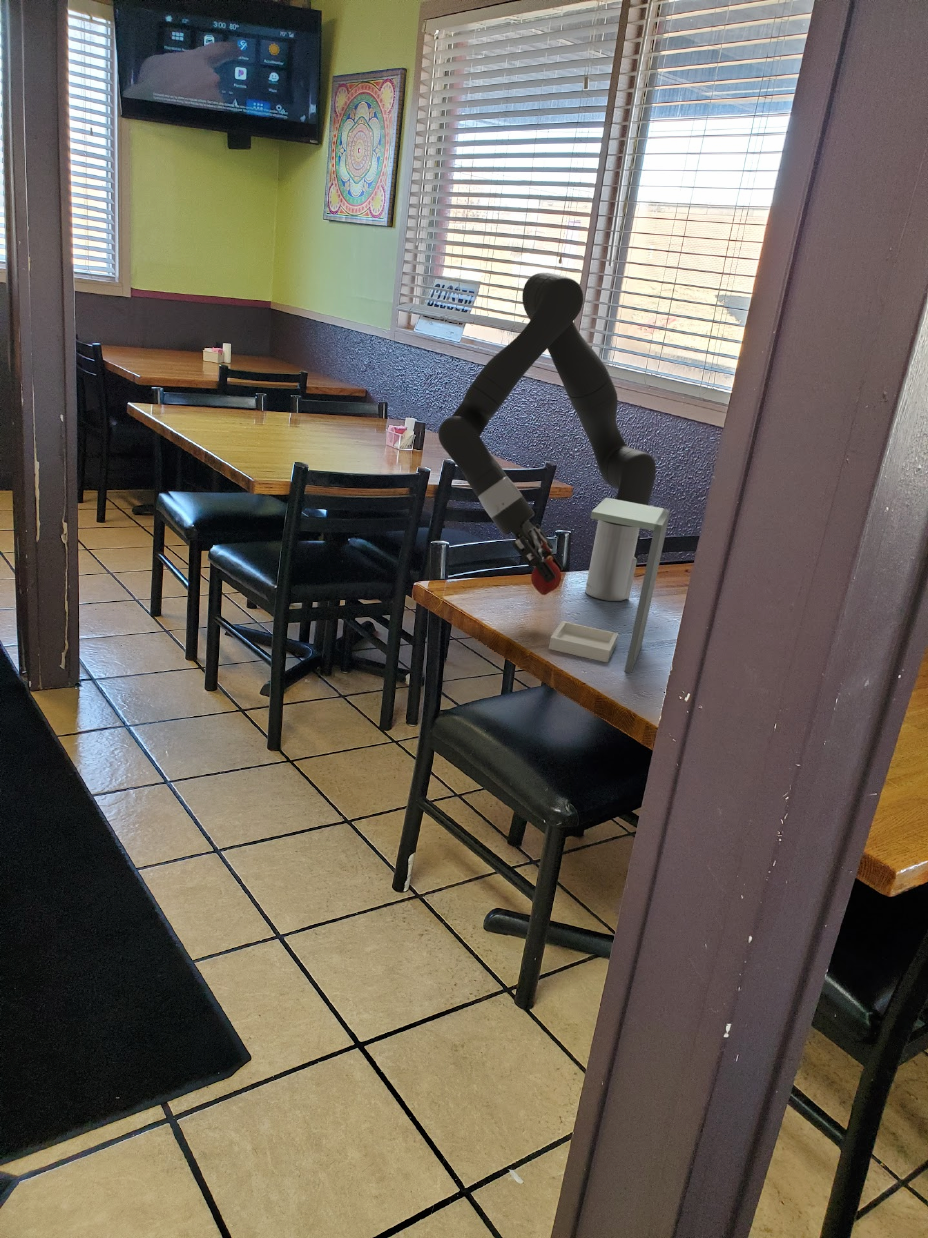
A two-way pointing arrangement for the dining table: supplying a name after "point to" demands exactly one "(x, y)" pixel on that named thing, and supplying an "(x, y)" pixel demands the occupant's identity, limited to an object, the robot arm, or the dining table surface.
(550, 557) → the onion
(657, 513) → the inverted l bracket
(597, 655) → the tray
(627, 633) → the dining table surface
